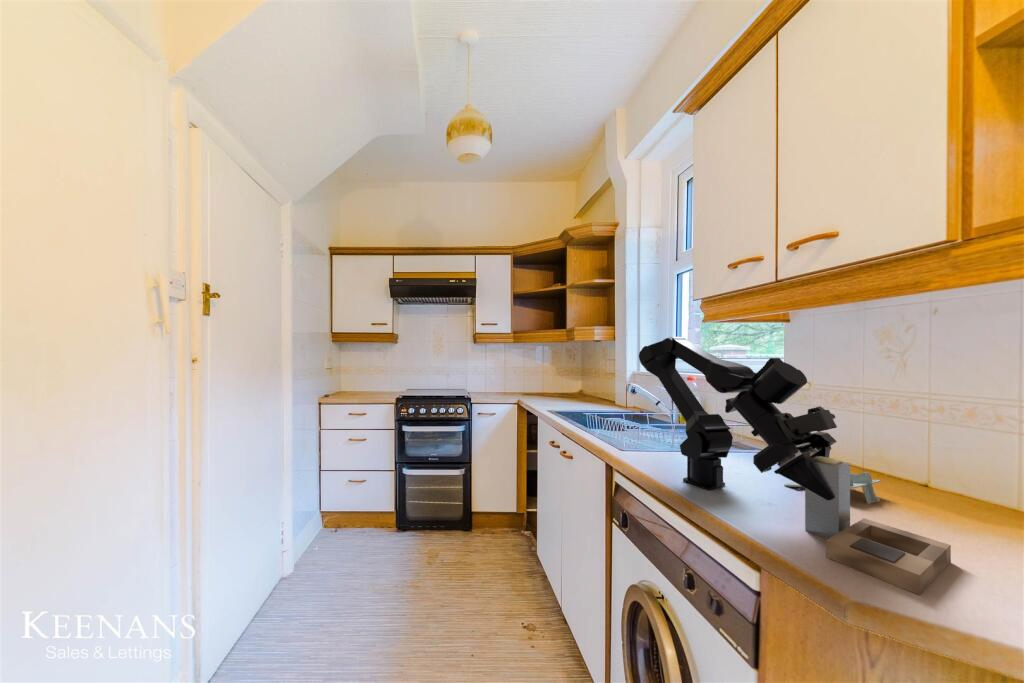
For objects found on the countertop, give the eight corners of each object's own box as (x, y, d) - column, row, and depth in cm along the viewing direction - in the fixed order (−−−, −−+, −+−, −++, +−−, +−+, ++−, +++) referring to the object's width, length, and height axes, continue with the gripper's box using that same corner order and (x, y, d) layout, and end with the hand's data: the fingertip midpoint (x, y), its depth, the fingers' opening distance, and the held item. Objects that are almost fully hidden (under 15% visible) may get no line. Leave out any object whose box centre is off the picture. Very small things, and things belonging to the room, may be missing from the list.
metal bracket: (888, 470, 78) (849, 479, 72) (899, 499, 76) (860, 511, 70) (813, 469, 90) (775, 476, 84) (821, 494, 89) (783, 503, 83)
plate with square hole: (825, 557, 54) (825, 538, 54) (863, 533, 61) (863, 517, 61) (919, 595, 46) (919, 573, 46) (950, 562, 53) (950, 543, 53)
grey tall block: (805, 530, 62) (805, 457, 62) (817, 524, 64) (816, 454, 65) (838, 542, 58) (838, 465, 58) (850, 535, 60) (849, 461, 61)
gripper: (773, 394, 60) (861, 482, 51) (822, 389, 70) (905, 463, 60) (725, 432, 67) (795, 516, 57) (776, 422, 76) (844, 494, 67)
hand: (837, 496), depth 60 cm, fingers closed on grey tall block, 4 cm apart
